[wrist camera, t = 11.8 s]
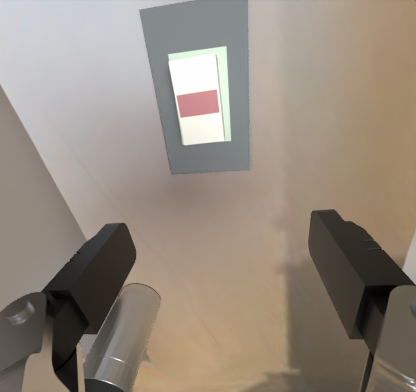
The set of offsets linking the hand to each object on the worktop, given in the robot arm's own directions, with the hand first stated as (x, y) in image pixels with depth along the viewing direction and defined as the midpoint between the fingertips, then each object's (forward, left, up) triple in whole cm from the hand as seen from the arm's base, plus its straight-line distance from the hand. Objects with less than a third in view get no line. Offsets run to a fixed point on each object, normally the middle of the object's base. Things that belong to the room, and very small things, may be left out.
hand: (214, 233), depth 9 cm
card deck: (+4, +3, -23) cm, 23 cm away
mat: (+4, +3, -23) cm, 24 cm away
